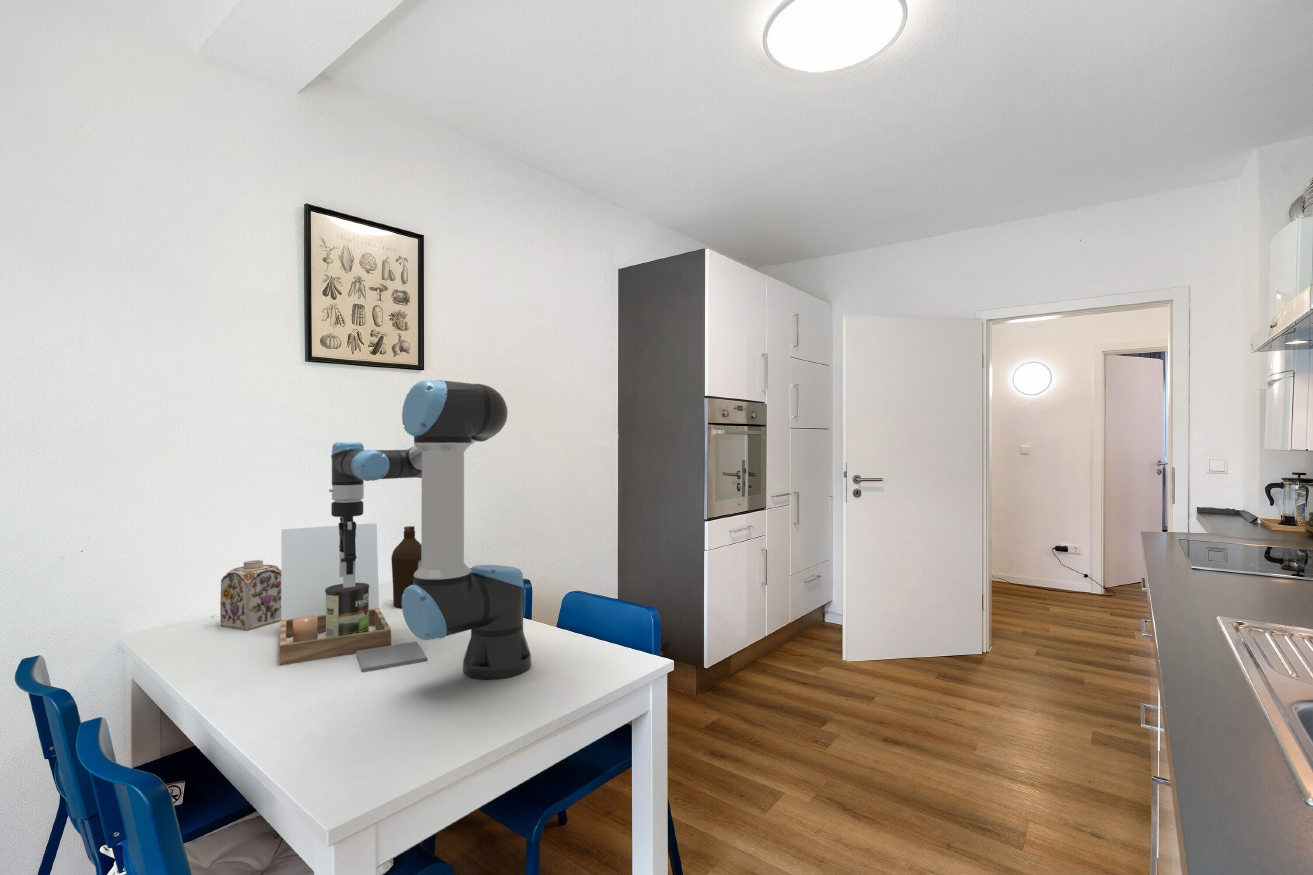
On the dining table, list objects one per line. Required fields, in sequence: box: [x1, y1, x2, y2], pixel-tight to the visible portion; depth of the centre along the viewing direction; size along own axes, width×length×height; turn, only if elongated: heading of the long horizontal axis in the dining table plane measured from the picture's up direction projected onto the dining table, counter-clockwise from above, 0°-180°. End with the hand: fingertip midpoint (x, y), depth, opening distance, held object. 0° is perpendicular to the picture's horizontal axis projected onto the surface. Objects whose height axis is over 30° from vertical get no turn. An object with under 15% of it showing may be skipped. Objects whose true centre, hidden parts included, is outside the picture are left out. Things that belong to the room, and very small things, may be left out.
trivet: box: [355, 640, 428, 673], centre depth 148 cm, size 14×14×1 cm
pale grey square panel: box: [280, 523, 380, 620], centre depth 173 cm, size 24×24×1 cm
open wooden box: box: [279, 607, 392, 666], centre depth 159 cm, size 24×24×4 cm
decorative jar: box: [219, 559, 281, 631], centre depth 177 cm, size 12×12×18 cm
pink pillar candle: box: [292, 616, 319, 643], centre depth 160 cm, size 6×6×6 cm
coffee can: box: [325, 583, 370, 638], centre depth 161 cm, size 10×10×14 cm
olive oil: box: [390, 525, 421, 609], centre depth 197 cm, size 11×11×25 cm
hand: (347, 581), depth 161 cm, fingers open, 13 cm apart
